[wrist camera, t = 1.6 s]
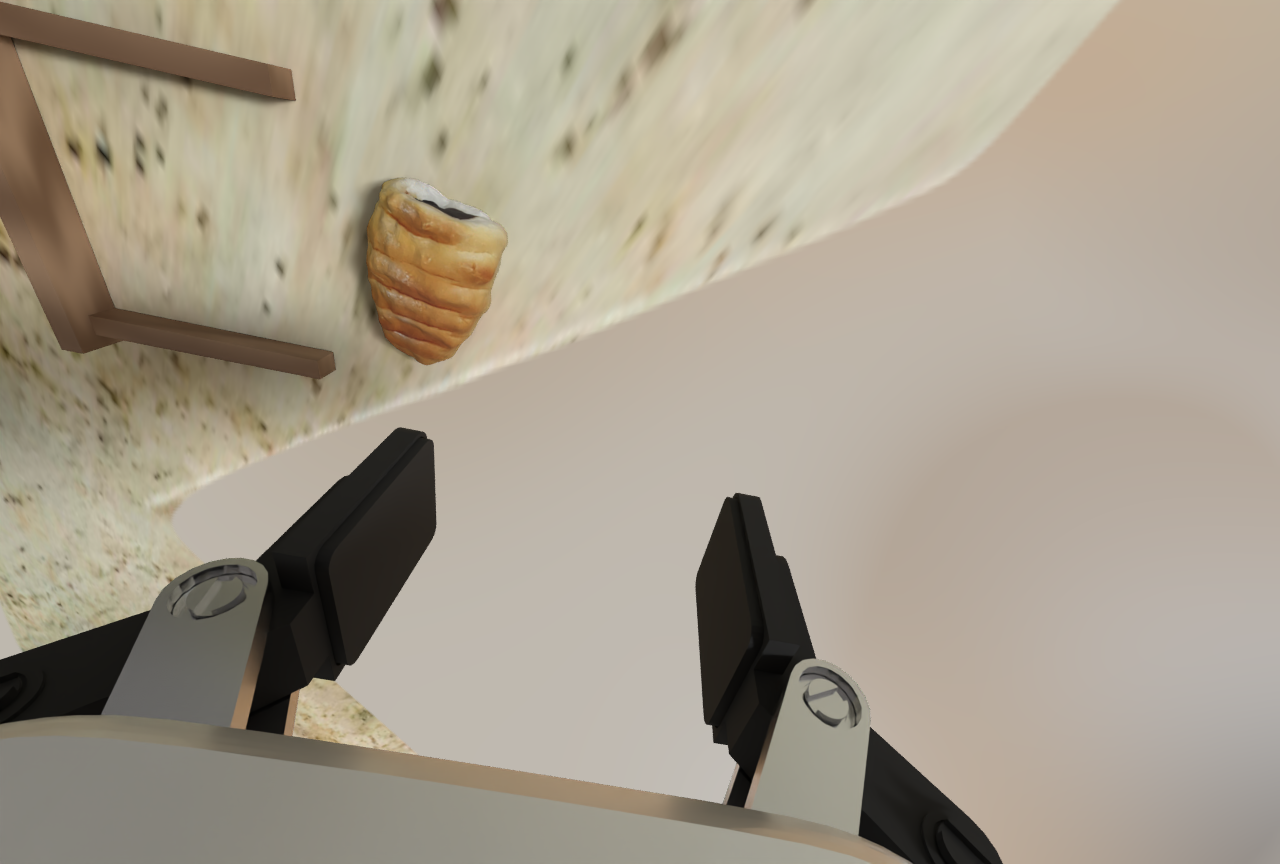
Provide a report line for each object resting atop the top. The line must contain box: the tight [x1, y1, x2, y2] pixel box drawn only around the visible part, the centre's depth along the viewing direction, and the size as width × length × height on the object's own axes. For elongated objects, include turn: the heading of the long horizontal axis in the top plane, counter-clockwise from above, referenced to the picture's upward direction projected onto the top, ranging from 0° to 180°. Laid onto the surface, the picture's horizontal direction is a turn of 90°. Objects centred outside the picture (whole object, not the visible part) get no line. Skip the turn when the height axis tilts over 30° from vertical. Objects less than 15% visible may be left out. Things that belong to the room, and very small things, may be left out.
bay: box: [0, 2, 336, 379], centre depth 24 cm, size 17×14×2 cm
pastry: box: [366, 178, 508, 365], centre depth 25 cm, size 9×7×4 cm
